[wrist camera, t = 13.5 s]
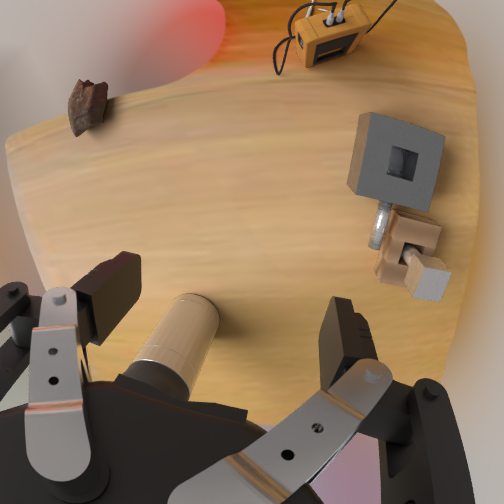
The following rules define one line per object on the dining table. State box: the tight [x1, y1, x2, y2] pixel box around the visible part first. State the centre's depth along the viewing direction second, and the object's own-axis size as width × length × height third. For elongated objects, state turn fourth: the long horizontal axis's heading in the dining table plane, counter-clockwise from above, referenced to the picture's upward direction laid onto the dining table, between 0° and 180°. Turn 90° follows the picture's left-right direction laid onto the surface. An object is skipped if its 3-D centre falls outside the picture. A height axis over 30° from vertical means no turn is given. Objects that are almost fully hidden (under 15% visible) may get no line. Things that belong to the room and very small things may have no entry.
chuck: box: [347, 112, 445, 250], centre depth 36 cm, size 17×10×7 cm, turn 172°
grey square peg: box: [401, 242, 452, 302], centre depth 36 cm, size 4×4×12 cm
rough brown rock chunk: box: [68, 79, 108, 137], centre depth 39 cm, size 6×7×10 cm
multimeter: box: [273, 0, 397, 75], centre depth 23 cm, size 15×10×20 cm
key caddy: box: [374, 209, 442, 287], centre depth 40 cm, size 10×7×4 cm
